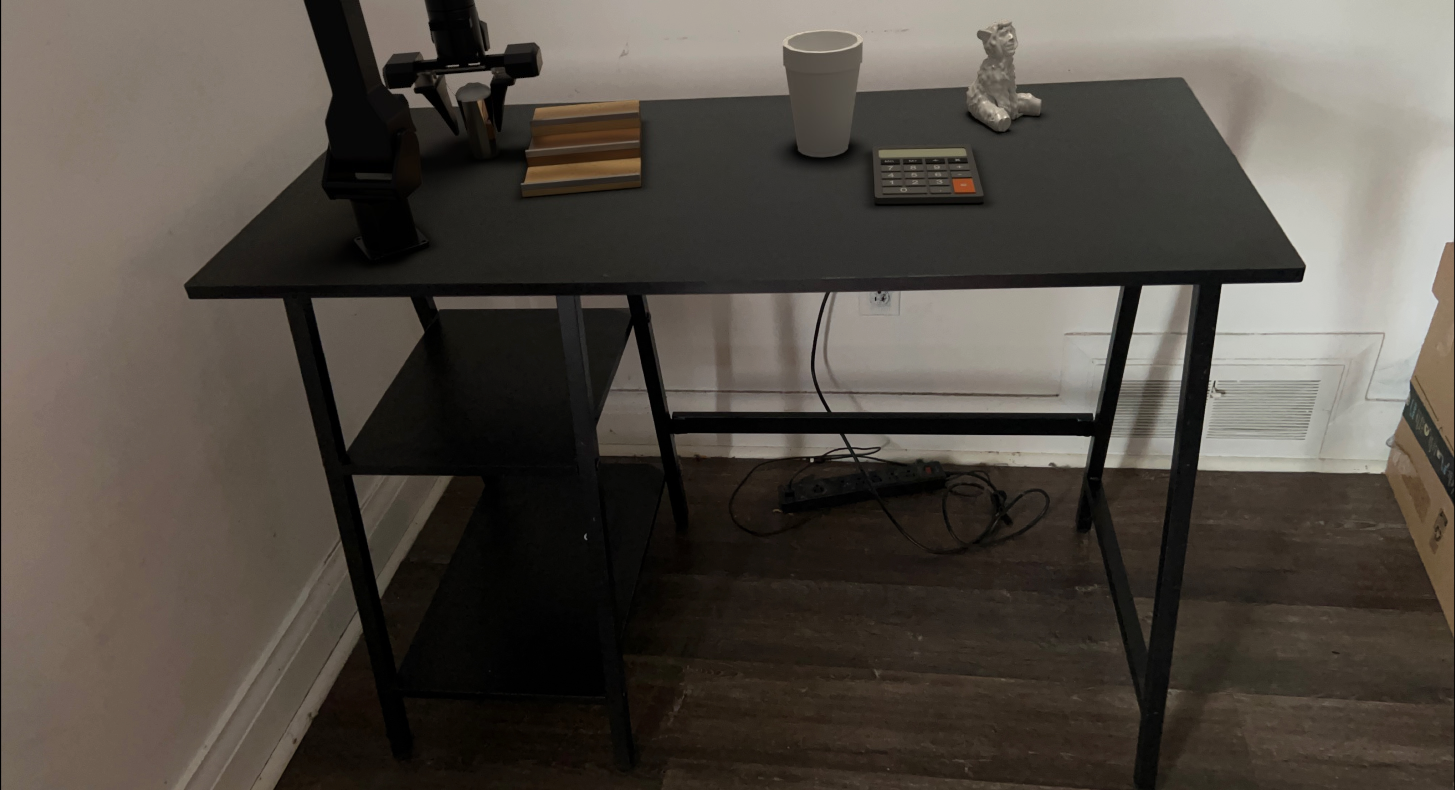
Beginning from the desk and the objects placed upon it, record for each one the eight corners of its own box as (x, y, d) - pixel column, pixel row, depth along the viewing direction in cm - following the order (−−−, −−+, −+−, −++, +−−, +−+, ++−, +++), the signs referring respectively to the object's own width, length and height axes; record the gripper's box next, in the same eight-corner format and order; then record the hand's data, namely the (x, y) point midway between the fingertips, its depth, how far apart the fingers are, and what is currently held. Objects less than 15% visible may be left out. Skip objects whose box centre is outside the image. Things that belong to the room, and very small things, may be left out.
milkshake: (461, 152, 125) (443, 76, 120) (502, 146, 127) (486, 70, 121) (464, 165, 122) (446, 87, 116) (506, 157, 123) (490, 80, 117)
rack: (641, 187, 113) (637, 154, 110) (522, 197, 113) (516, 165, 110) (641, 122, 131) (638, 93, 128) (539, 131, 130) (534, 102, 128)
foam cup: (874, 152, 117) (877, 44, 109) (805, 167, 114) (804, 58, 107) (838, 128, 124) (839, 25, 117) (773, 142, 122) (769, 38, 114)
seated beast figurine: (1001, 135, 119) (1012, 36, 112) (945, 119, 124) (952, 24, 117) (1044, 114, 124) (1057, 18, 117) (988, 100, 129) (998, 7, 122)
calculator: (875, 196, 104) (872, 144, 116) (874, 204, 105) (872, 151, 117) (984, 194, 103) (970, 142, 115) (983, 202, 103) (969, 149, 115)
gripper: (535, -16, 120) (556, 106, 129) (387, -4, 120) (418, 117, 129) (526, 6, 111) (549, 135, 120) (365, 19, 111) (400, 148, 120)
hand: (478, 133), depth 123 cm, fingers open, 5 cm apart
